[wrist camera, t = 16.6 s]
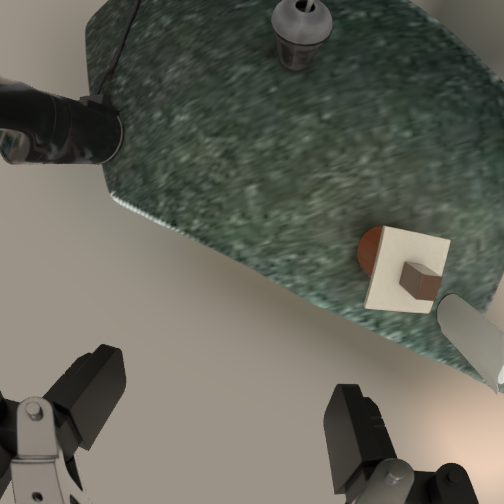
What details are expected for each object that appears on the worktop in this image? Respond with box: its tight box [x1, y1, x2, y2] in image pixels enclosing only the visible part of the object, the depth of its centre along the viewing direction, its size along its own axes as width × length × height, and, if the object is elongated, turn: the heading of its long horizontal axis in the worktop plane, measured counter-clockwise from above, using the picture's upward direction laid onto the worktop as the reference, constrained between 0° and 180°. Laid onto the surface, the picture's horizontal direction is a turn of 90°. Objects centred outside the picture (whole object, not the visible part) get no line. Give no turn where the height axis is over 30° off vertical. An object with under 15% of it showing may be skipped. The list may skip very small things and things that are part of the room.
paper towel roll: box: [437, 294, 504, 394], centre depth 34 cm, size 7×6×21 cm
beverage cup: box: [271, 0, 332, 70], centre depth 25 cm, size 7×7×20 cm
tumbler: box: [357, 225, 387, 279], centre depth 37 cm, size 9×9×10 cm
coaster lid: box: [363, 225, 450, 313], centre depth 29 cm, size 10×10×6 cm
